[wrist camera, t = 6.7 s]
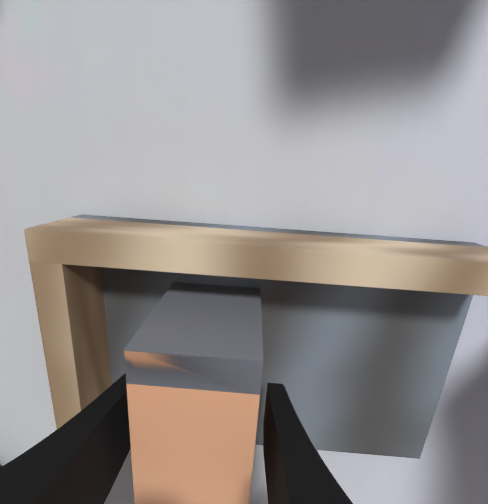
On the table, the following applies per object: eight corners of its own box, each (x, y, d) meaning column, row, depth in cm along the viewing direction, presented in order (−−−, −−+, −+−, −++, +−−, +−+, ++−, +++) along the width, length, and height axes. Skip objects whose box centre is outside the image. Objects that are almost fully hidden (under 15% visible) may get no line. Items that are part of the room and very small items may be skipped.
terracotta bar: (248, 425, 15) (244, 546, 10) (174, 419, 15) (136, 536, 10) (260, 288, 13) (263, 360, 8) (173, 282, 13) (124, 349, 8)
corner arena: (474, 242, 12) (548, 267, 9) (411, 444, 16) (450, 512, 13) (81, 214, 13) (24, 229, 10) (102, 418, 16) (64, 478, 13)
